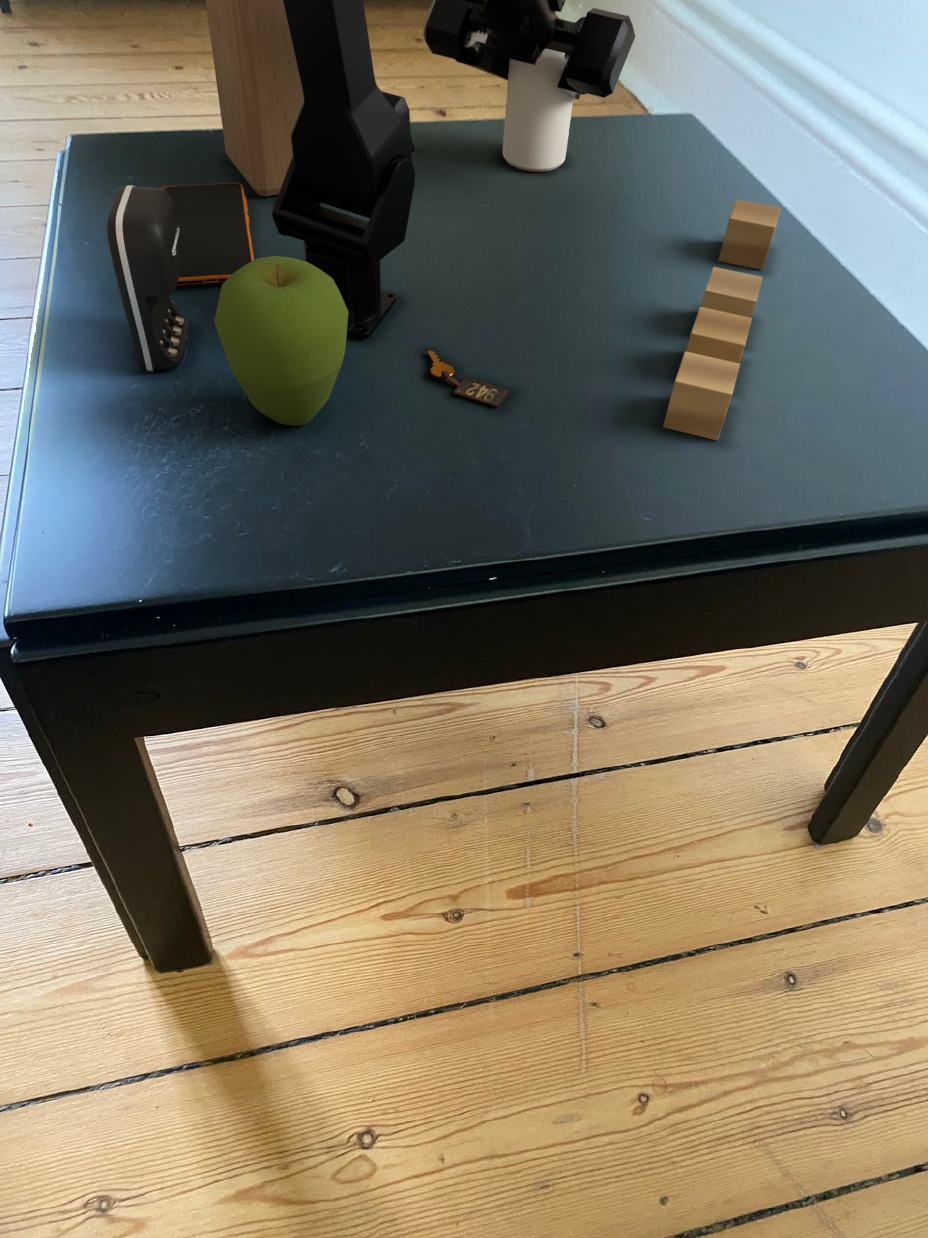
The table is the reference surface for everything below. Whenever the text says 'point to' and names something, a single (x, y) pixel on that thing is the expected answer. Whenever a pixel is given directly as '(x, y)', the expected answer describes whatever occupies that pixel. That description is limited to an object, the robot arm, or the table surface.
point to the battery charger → (149, 273)
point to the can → (536, 114)
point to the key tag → (468, 384)
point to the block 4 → (701, 395)
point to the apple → (283, 335)
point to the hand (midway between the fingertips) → (546, 85)
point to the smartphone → (212, 231)
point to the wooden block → (255, 87)
